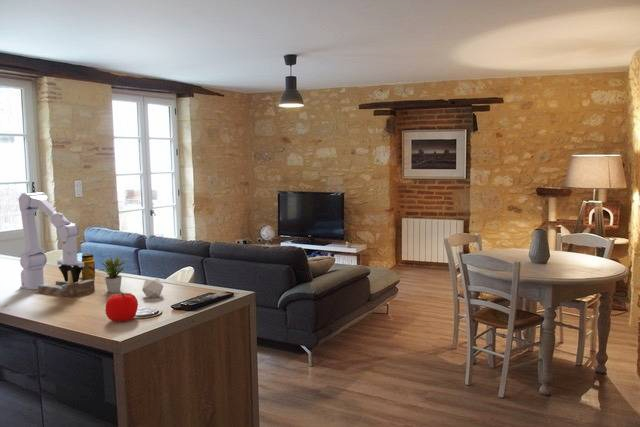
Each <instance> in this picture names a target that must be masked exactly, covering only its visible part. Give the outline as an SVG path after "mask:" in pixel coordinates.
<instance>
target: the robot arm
mask: <svg viewBox="0 0 640 427" xmlns="http://www.w3.org/2000/svg"><path fill="white" fill-rule="evenodd" d="M18 206H19V211H20V213H21V214H20V216H21V222H22V229H23V238H24V244H25V245H24V246H25V248H24V250H22V251H21V252H20V260H19V264H20V266H21V267H22V270H21V272H20V282H21V286H20V287H19V288H20V289H25V290H31V291H32V290H34V291H35V290H37V289H38V285H47V286H50V285H49V284H45V279H44V268H45V266H46V265H47V262H48V258H47V256H46V253H45V249H44V248H42V247H41V246H40V244H39V238H38V230H37V222H36V215H35V214H36V213H37V210H39V209H40V210H41V211H42V212H43V213H45V214H46V216H48V217H49V222H50V224H52V225H53V226H54V228H55V229H56V230H57V234H58V236H59V237H60V238H59V239H60V241H61V245H62V246H61V247H62V259H59V260H57V261H56V264H57V266H58V269H59V271H60V272H61V274H62V276H63V279H64V281H65V282H67V281H68V271H71V274H72V279H73V283H78V282H79V281H78V280H79V278H80V276H81V274H82V269H83V267H84V262H81V261H82V260H78V243H77V236H78V235H79V234H80V229H79V226H78V224H77V223H74V222H70V221H69V220H68V219H67V218H66V216H65V215H64V214H63V213H62V212H57V211H56V210H55V208H54V207H53V206H52V205H51V203H50V201H49V198H48V196H47V195H46V193H45V192H44V191H43V192H42V191H39V192H30V193H29V192H28V193H27V192H23V193H21V194H20V195H19V197H18Z"/></svg>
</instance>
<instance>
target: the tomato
mask: <svg viewBox="0 0 640 427" xmlns="http://www.w3.org/2000/svg"><path fill="white" fill-rule="evenodd" d="M138 308H139V302H138V299H137V298H136V296H135V295H134V294H133V293H128V292H121V293H117V292H115V293H114V294H112V295H110V296H109V298H108V299H107V301H106V302H105V316H106V317H107V319H109V321H111V322H114V323H126V322H129V321H131V320H133V319H134V318H135V316H136V315H137V312H138Z"/></svg>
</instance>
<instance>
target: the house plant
mask: <svg viewBox="0 0 640 427" xmlns="http://www.w3.org/2000/svg"><path fill="white" fill-rule="evenodd" d="M118 256H119V254H117V256H116V258H114V259H115V260H114V262H113V258H112V257H111V255H109V258H110V259H108V258H107V257H104V260H105V261H104V262H103V261H99V262H100V263H101V264H102V265H103V266H104V267H105V269H98V270H97V271H99V272H100V271H101V272H105V273H107V276H106V277H104V280H105V285H106V289H107V293H117V292H120V291H121V287H122V286H121V285H122V277H123V276H121V275H119V274H120V273H122V271H123V272H126V273H127V271H126V267H127V265H126V266H122V265H123V264H127V263H128V262H127V261H128V260H129V257H128V258H124V259H122V260H121V261H120V259H121V256H119V257H118ZM121 266H122V267H121Z"/></svg>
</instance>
